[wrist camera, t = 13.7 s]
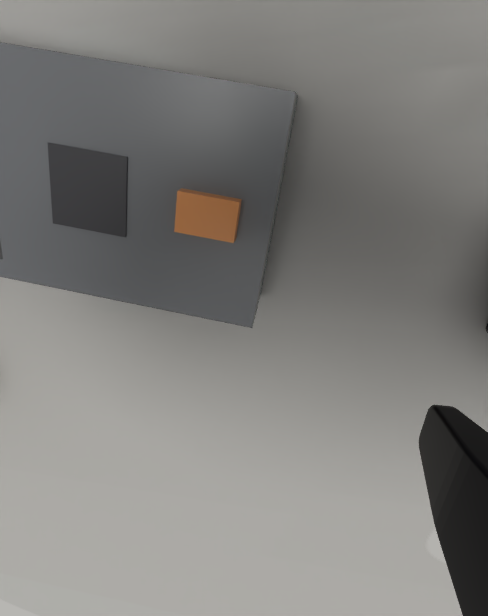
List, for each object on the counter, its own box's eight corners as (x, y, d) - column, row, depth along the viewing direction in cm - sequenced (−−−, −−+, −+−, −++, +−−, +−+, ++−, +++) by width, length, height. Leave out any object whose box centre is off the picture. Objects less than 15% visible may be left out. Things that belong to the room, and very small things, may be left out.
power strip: (297, 95, 17) (295, 90, 13) (260, 296, 21) (250, 334, 17) (-146, 21, 18) (-261, -3, 14) (-97, 225, 22) (-177, 246, 19)
